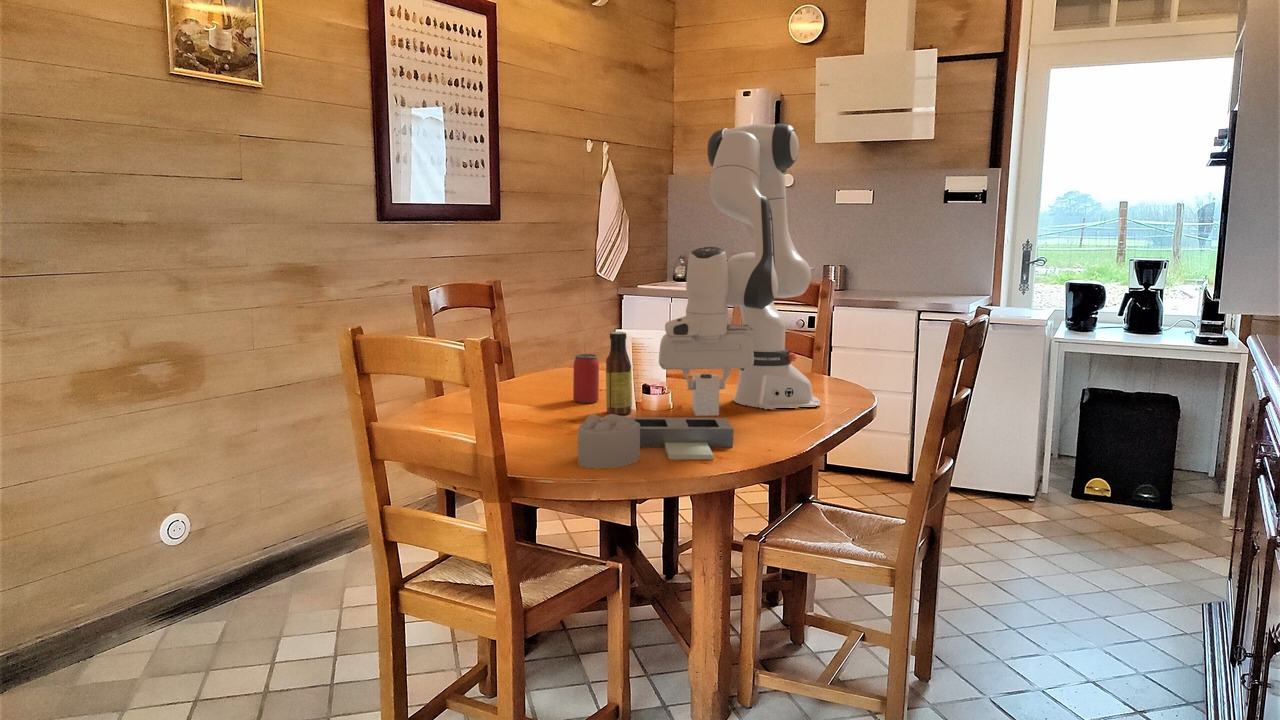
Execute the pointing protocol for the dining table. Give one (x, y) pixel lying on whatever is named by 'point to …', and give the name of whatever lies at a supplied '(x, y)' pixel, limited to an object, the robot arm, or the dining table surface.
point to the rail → (684, 431)
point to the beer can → (586, 378)
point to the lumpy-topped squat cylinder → (608, 441)
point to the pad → (688, 451)
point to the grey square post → (706, 394)
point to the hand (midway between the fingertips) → (705, 388)
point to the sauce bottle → (618, 376)
